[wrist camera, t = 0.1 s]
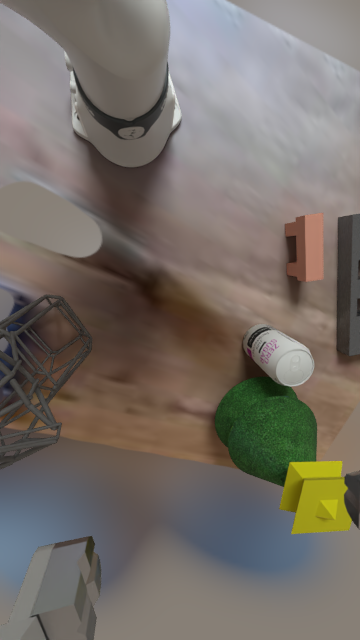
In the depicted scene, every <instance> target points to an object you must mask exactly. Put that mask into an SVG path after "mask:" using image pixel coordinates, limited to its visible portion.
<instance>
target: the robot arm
mask: <svg viewBox="0 0 360 640" xmlns="http://www.w3.org/2000/svg"><path fill="white" fill-rule="evenodd" d="M0 3H1V4H3V5H5V6H7V7H8V8H10V9H12V10H14V11H15V12H17V13H18V14H20V15H21V16H23V17H24V18H26V19H27V20H29V21H30V22H32V23H33V24H34V25H36V26H37V27H38V28H40V29H41V30H42V31H44V32H45V33H46V34H47V35H49V36H50V37H51V38H52V39H53V40H54V41H56V42H57V43H58V44H59V45H60V46H61V47H62V48H63V49H64V50H65V61H66V66H67V69H68V70H69V71H70V79H71V81H70V89H71V103H72V124H73V128H74V131H75V132H76V133H77V134H78V135H79V136H81V137H82V138H84V139H86V140H88V141H90V142H91V143H92V144H93V145H94V146H95V147H96V148H97V150H98V151H99V152H100V153H101V154H102V155H103V156H104V157H105V158H107V159H108V160H109V161H111V162H113V163H115V164H117V165H120V166H124V167H139V166H143V165H145V164H147V163H149V162H151V161H152V160H154V159H155V158H156V157H157V156H158V155H159V154H160V152H161V151H162V150H163V148H164V146H165V144H166V141H167V139H168V137H169V135H170V133H171V132H172V131H173V130H174V129H175V128H176V127H177V126H178V125H179V123H180V122H181V110H180V107H179V104H178V100H177V97H176V93H175V90H174V87H173V83H172V80H171V76H170V73H169V70H168V62H167V59H168V49H169V40H170V18H169V12H168V7H167V3H166V0H0ZM174 109H175V110H174ZM78 117H79V119H80V120H78ZM344 484H345V485H346V486H347V487H348V489H347V491H346V492H345V494H344V504H345V507H346V509H347V512H348V514H349V516H350V518H351V519H352V521H353V522H354V524H355V525H356V526H357V528H358V529H359V530H360V471H356V472H352V473H349V474H346V476H345V477H344ZM94 546H95V543H94V541H93V537H92V536H89V537H84V538H79V539H74V540H69V541H65V542H59V543H55V544H51V545H46V546H42V547H38V548H37V550H36V551H35V553H34V554H33V557H32V560H31V562H30V565H29V568H28V570H27V573H26V575H25V578H24V581H23V583H22V586H21V589H20V592H19V594H18V597H17V600H16V602H15V605H14V608H13V610H12V613H11V616H10V618H9V621H8V623H6V624H3V625H1V626H0V640H94V633H95V626H96V618H97V617H96V614H95V611H94V608H93V606H94V605H95V603H96V601H97V599H98V598H99V596H100V588H101V565H100V559H99V556H98V554H96V553H94Z"/></svg>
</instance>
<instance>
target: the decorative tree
mask: <svg viewBox="0 0 360 640" xmlns="http://www.w3.org/2000/svg"><path fill="white" fill-rule="evenodd" d="M215 428H216V432H217V435H218V437H219V438H220V440H221V441H222V443H223V444H224V445H225V446H227V447H228V450H229V454H230V457H231V459H232V461H233V462H234V464H235V465H236V466H237V467H238V468H239V469H241V470H242V471H243V472H245V473H247V474H250V475H253V476H255V477H258V478H261V479H264V480H266V481H269V482H272V483H274V484H277V485H280V486H283V487H284V490H283V495H282V499H281V504H280V508H279V509H281V510H286V511H291V512H296V514H295V519H294V523H293V528H292V533H291V534H297V533H313V532H329V531H345V530H349V529H350V525H351V522H352V519H351V518H350V516H349V514H348V512H347V509H346V507H345V504H344V494H345V492H346V491H347V489H348V487H347V486H346V485H345V484H344V477H341V469H342V461H323V462H316V449H317V423H316V419H315V416H314V414H313V412H312V411H311V409H310V408H309V407H308V406H307V405H306V404H305V403H303V402H302V401H300V400H298V398H297V396H296V394H295V392H294V391H293V389H292V388H291V387H290V386H284V385H281V384H278V383H277V382H275V381H274V380H273V379H272V378H271V377H255V378H251V379H248V380H245V381H243V382H241V383H239V384H237V385H236V386H235V387H233V388H232V389H231V390H230V391H229V392H228V393H227V394H226V395H225V396H224V397H223V399H222V400H221V402H220V404H219V406H218V408H217V411H216V416H215Z"/></svg>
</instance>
